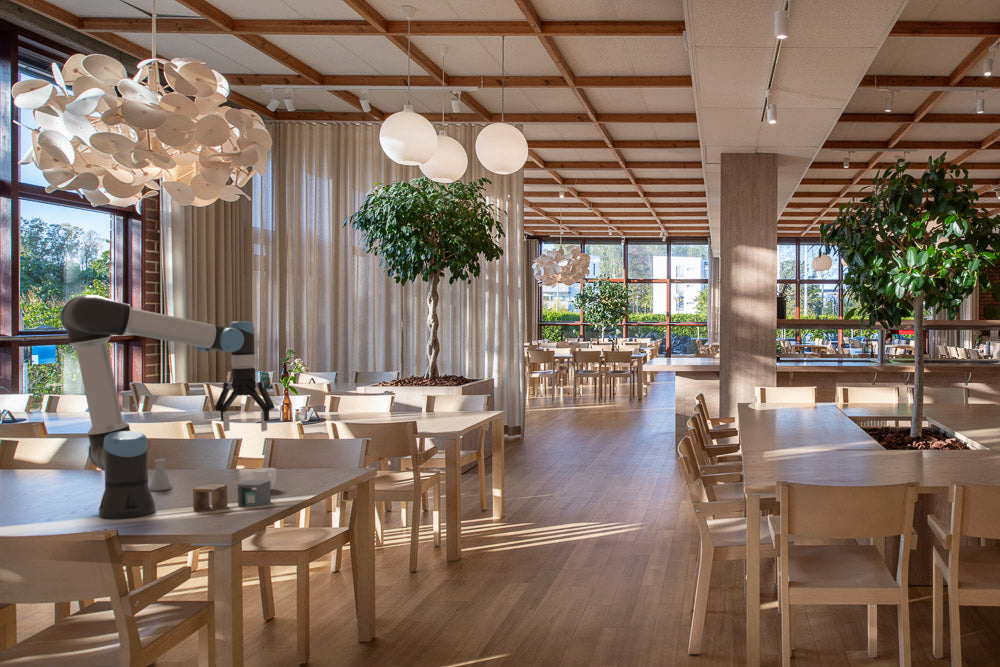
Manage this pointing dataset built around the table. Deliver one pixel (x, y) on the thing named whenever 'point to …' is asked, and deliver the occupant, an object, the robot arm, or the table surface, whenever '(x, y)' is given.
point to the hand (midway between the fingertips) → (245, 431)
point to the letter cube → (251, 497)
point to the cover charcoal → (262, 491)
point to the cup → (264, 475)
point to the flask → (160, 477)
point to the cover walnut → (203, 496)
